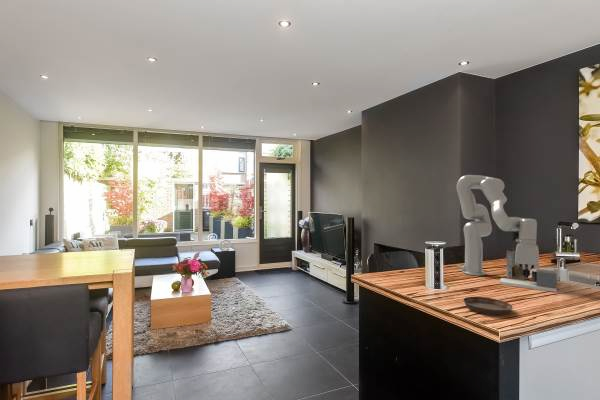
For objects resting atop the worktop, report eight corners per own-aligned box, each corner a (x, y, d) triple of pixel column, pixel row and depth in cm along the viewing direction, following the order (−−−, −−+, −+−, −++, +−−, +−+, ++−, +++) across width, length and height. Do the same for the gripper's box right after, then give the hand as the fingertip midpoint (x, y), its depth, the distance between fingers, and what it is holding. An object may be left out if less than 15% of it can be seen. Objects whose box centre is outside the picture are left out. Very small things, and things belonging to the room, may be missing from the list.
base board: (499, 284, 176) (499, 281, 176) (501, 280, 184) (501, 277, 184) (556, 292, 162) (556, 289, 162) (555, 287, 170) (555, 284, 170)
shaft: (531, 281, 170) (531, 272, 170) (531, 279, 174) (531, 270, 174) (560, 285, 163) (560, 275, 163) (559, 283, 167) (559, 273, 167)
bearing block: (536, 285, 167) (536, 271, 167) (536, 282, 174) (536, 269, 174) (556, 288, 163) (556, 274, 163) (555, 285, 169) (555, 271, 169)
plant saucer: (479, 300, 148) (479, 294, 148) (521, 313, 133) (522, 305, 133) (453, 306, 140) (454, 299, 140) (495, 320, 124) (495, 312, 124)
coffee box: (522, 276, 194) (522, 249, 194) (528, 279, 188) (529, 250, 188) (505, 276, 195) (506, 248, 195) (511, 278, 189) (512, 250, 189)
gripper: (510, 241, 174) (509, 276, 174) (545, 244, 165) (544, 280, 166) (511, 240, 180) (510, 273, 181) (545, 242, 171) (544, 277, 172)
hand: (526, 277), depth 173 cm, fingers closed
